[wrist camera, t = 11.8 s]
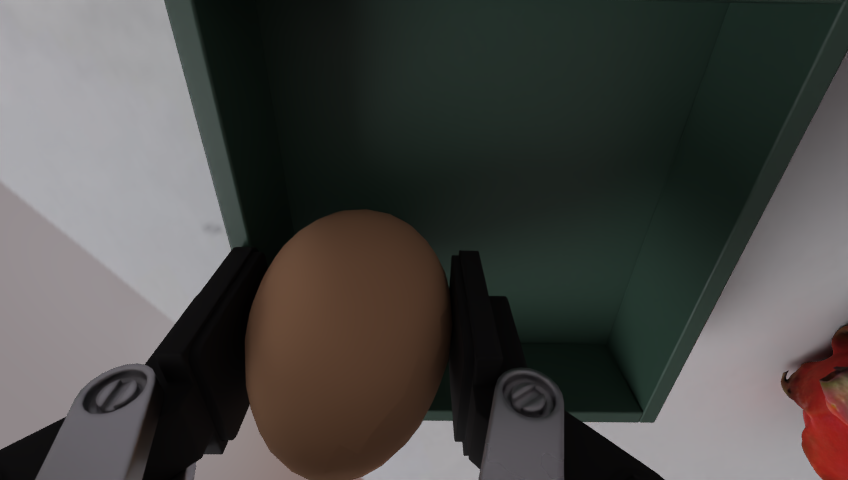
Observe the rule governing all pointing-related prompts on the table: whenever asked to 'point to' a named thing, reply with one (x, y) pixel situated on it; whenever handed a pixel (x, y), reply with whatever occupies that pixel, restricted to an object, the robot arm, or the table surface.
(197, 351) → the robot arm
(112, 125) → the table surface
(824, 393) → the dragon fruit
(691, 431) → the table surface
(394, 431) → the egg
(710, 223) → the box
